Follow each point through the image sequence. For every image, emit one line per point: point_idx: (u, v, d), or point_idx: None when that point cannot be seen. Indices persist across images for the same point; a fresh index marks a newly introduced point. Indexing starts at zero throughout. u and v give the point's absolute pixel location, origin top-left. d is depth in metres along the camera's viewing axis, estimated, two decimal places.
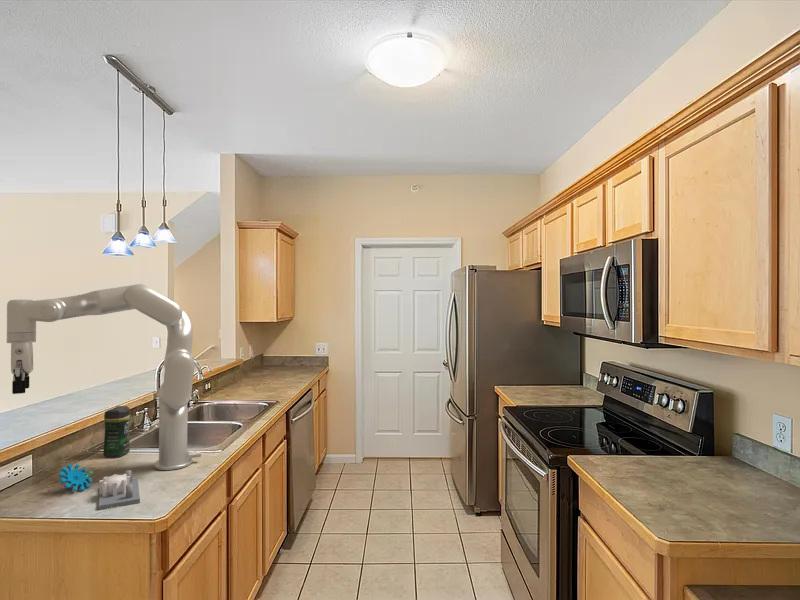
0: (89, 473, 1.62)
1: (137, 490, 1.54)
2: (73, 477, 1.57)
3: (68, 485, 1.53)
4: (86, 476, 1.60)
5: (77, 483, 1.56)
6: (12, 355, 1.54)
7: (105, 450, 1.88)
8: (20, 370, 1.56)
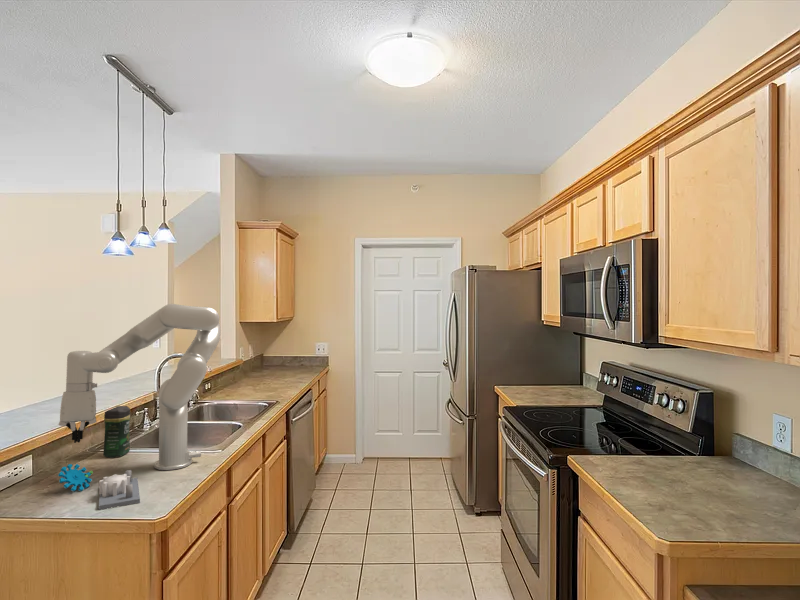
0: (89, 473, 1.62)
1: (137, 490, 1.54)
2: (72, 477, 1.57)
3: (67, 485, 1.53)
4: (86, 476, 1.61)
5: (76, 483, 1.56)
6: (94, 402, 1.68)
7: (105, 450, 1.88)
8: None
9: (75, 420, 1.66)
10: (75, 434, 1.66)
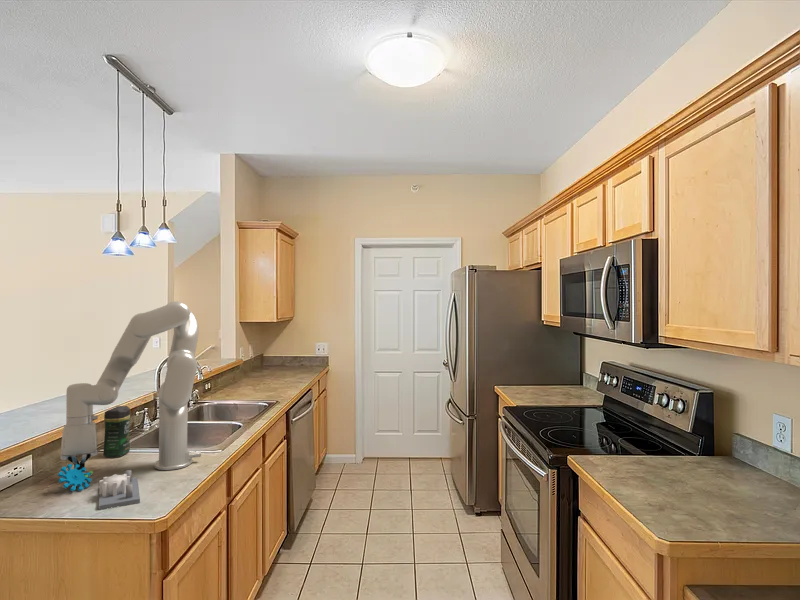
0: (89, 473, 1.62)
1: (137, 490, 1.54)
2: (72, 477, 1.57)
3: (66, 485, 1.54)
4: (85, 476, 1.61)
5: (76, 483, 1.56)
6: (95, 435, 1.68)
7: (105, 450, 1.88)
8: None
9: (76, 453, 1.65)
10: None
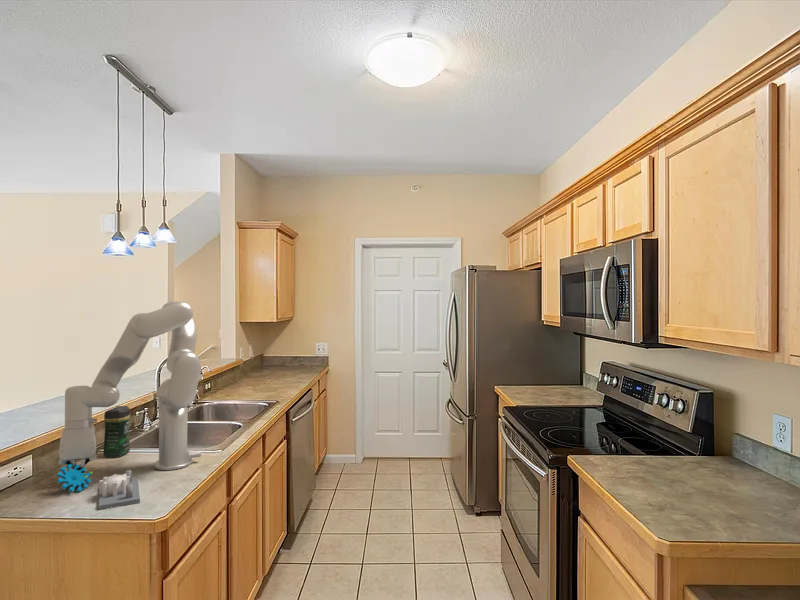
0: (88, 474, 1.61)
1: (137, 490, 1.54)
2: (71, 477, 1.56)
3: (65, 485, 1.53)
4: (85, 477, 1.60)
5: (75, 484, 1.55)
6: (94, 438, 1.63)
7: (105, 450, 1.88)
8: None
9: (75, 458, 1.61)
10: None
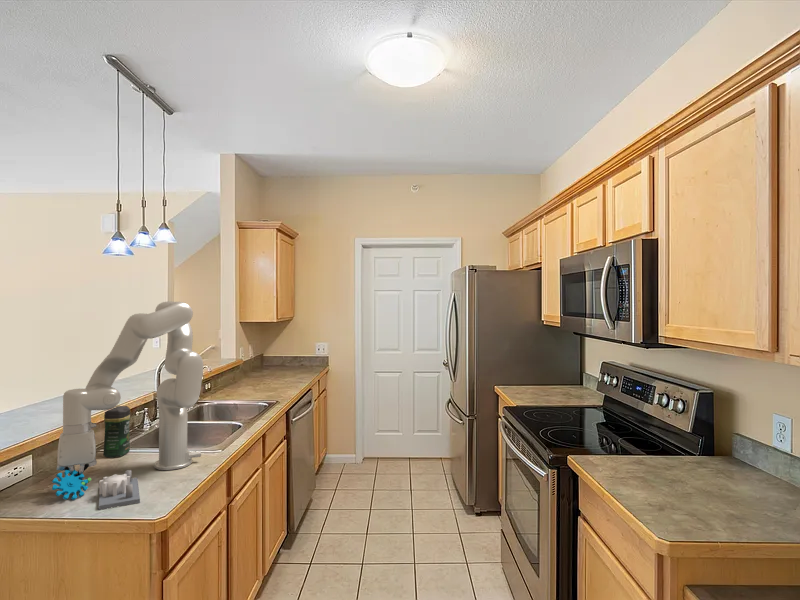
0: (86, 480, 1.55)
1: (137, 490, 1.54)
2: (67, 484, 1.50)
3: (59, 492, 1.47)
4: (82, 483, 1.54)
5: (70, 491, 1.50)
6: (93, 443, 1.58)
7: (105, 450, 1.88)
8: None
9: (74, 464, 1.55)
10: None
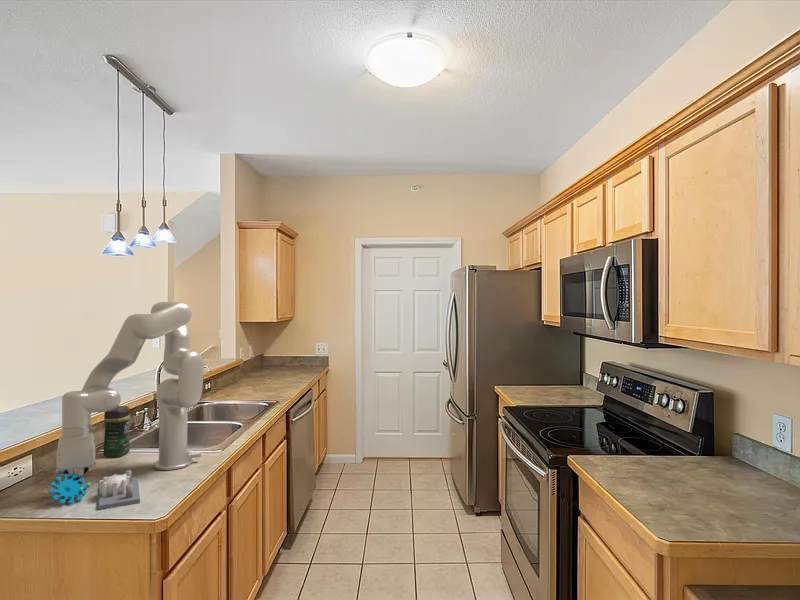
0: (86, 485, 1.52)
1: (137, 490, 1.54)
2: (64, 488, 1.47)
3: (55, 497, 1.44)
4: (81, 488, 1.50)
5: (67, 495, 1.46)
6: (93, 446, 1.55)
7: (105, 450, 1.88)
8: None
9: (73, 467, 1.52)
10: None
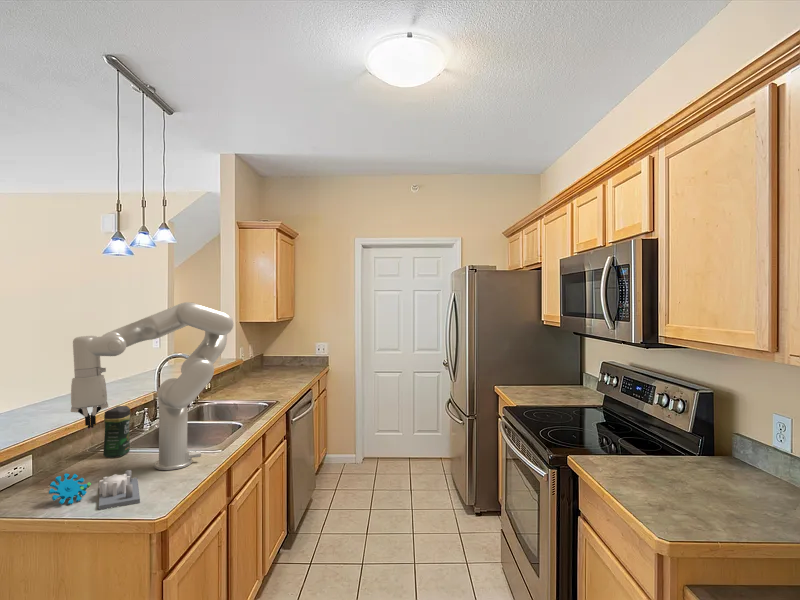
0: (86, 485, 1.52)
1: (137, 490, 1.54)
2: (64, 488, 1.47)
3: (55, 497, 1.44)
4: (81, 488, 1.51)
5: (66, 495, 1.47)
6: (104, 387, 1.66)
7: (105, 450, 1.88)
8: None
9: (87, 406, 1.64)
10: (88, 420, 1.64)
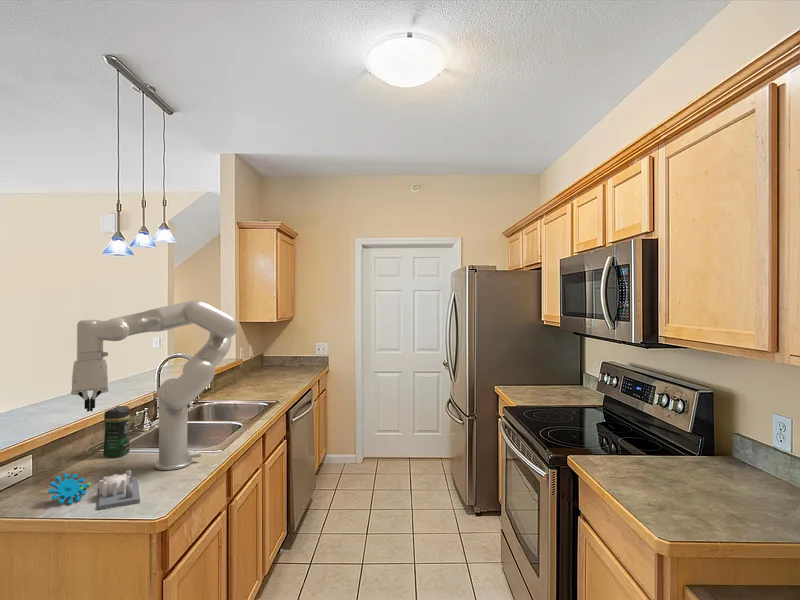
0: (86, 485, 1.52)
1: (137, 490, 1.54)
2: (64, 488, 1.48)
3: (54, 497, 1.44)
4: (80, 488, 1.51)
5: (66, 495, 1.47)
6: (105, 371, 1.68)
7: (105, 450, 1.88)
8: None
9: (87, 389, 1.65)
10: (87, 403, 1.65)
